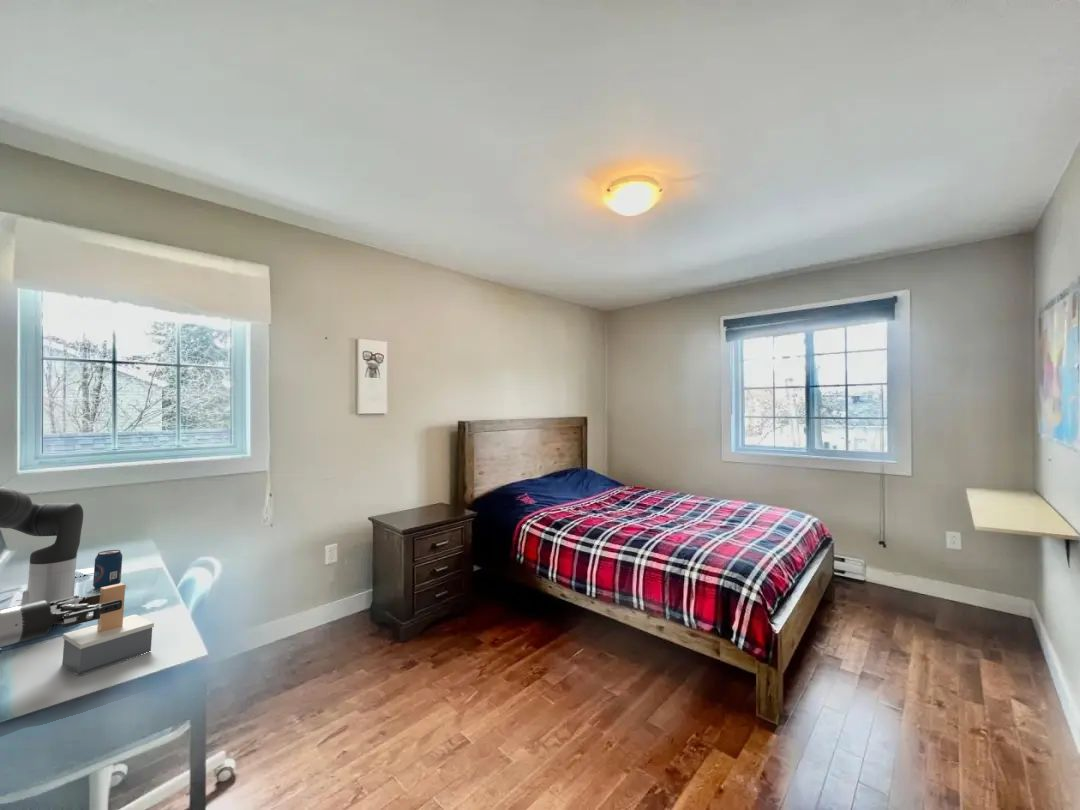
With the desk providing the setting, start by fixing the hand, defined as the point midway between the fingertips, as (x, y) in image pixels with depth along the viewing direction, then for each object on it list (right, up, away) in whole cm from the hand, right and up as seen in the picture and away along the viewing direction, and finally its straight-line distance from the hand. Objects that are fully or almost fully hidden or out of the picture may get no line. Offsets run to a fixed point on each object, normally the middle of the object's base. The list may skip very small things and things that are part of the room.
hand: (114, 600), depth 110 cm
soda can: (-46, -16, +46) cm, 67 cm away
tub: (0, -13, -1) cm, 14 cm away
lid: (0, -9, -1) cm, 9 cm away
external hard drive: (-67, -17, +60) cm, 92 cm away
